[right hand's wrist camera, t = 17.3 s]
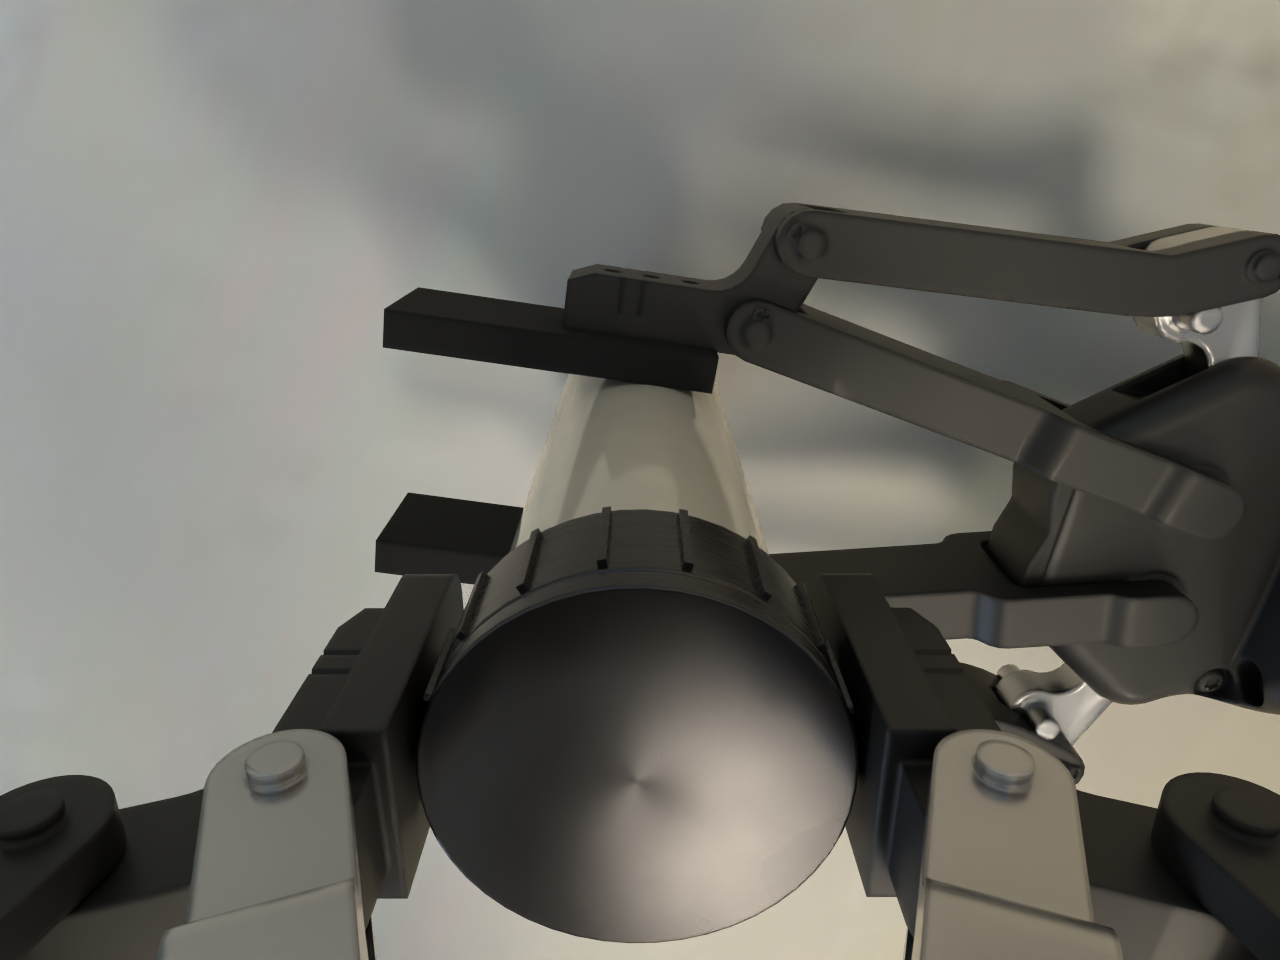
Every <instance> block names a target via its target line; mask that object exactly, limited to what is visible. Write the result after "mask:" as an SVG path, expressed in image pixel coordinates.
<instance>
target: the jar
mask: <svg viewBox="0 0 1280 960" xmlns="http://www.w3.org/2000/svg"><path fill="white" fill-rule="evenodd" d="M609 506H611V510H612V511H616V510H637V509H648V510H658V511H668V512H675V513H678V511H679V509H684V510H688V516H693V517H697V518H700V519H703V520H706V521H709V522H711V523H714V524H717V525H720V526H723V527H725V528H726V529H728V530H730V531H732V532H734V533H736V534H738V535H740V536H742V537H744V538H746V539H747V538H748V536H749V535H751V536H752V537H754V538H755V539H756V540H757V543H758V546H759V548H760V549H762V550H763V551H765V552H766V553H767V554H768V555H769V553H768V550H767V547H766V543H765V540H764V537H763V534H762V530H761V527H760V524H759V521H758V518H757V514H756V511H755V508H754V505H753V501H752V498H751V495H750V492H749V489H748V485H747V482H746V479H745V476H744V473H743V469H742V466H741V463H740V460H739V456H738V453H737V450H736V447H735V444H734V440H733V437H732V434H731V431H730V427H729V424H728V421H727V418H726V415H725V411H724V408H723V405H722V402H721V398H720V395H719V392H718V389H717V386H716V382H715V380H714V386H713V391H712V394H709V393H702V392H695V391H688V390H681V389H674V388H667V387H660V386H653V385H645V384H638V383H631V382H624V381H617V380H610V379H603V378H596V377H589V376H582V375H575V374H568V376H567V379H566V382H565V385H564V388H563V391H562V394H561V397H560V400H559V403H558V406H557V409H556V412H555V415H554V418H553V421H552V424H551V427H550V430H549V433H548V436H547V439H546V442H545V445H544V448H543V451H542V454H541V458H540V461H539V464H538V467H537V470H536V473H535V476H534V479H533V482H532V485H531V488H530V491H529V494H528V497H527V500H526V503H525V506H524V509H523V512H522V515H521V518H520V521H519V524H518V527H517V530H516V533H515V536H514V540H513V543H512V546H511V549H510V552H511V551H513V550H514V549H515V548H517V547H518V546H519V545H521V544H522V543H523V542H525V541H527V540H528V539H529V538H530V534H531V532H532V531H534V530H536V529H537V528H539V530H540V531H541V532H543V531H544V530H546V529H549V528H551V527H554V526H556V525H559V524H561V523H564V522H566V521H568V520H572V519H576V518H579V517H583V516H587V515H591V514H594V513H601V512H602V508H603V507H609ZM510 552H509V553H510Z"/></svg>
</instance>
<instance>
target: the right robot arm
mask: <svg viewBox="0 0 1280 960" xmlns="http://www.w3.org/2000/svg"><path fill="white" fill-rule="evenodd" d="M813 608H814V610H815V613H816V616H817V618H818V621H819V624H820V626H821V629H822V632H823V634H824V637H825V640H829V642H830V644H831V647H832V650H833V652H834V655H835V657H836V660H837V663H838V665H839V668H840V671H841V673H842V676H843V679H844V681H845V684H846V687H847V689H848V692H849V694H850V697H851V700H852V702H853V705H854V709H855V714H851V716H852V720H853V724H854V728H855V733H856V737H857V742H858V755H859V772H858V783H857V790H856V794H855V798H854V802H853V806H852V810H851V813H850V815H849V818H848V820H847V822H846V825H845V827H846V830H847V833H848V837H849V840H850V843H851V846H852V850H853V853H854V856H855V860H856V863H857V866H858V870H859V873H860V876H861V880H862V883H863V886H864V889H865V893H866V896H867V897H897V899H898V902H899V904H900V907H901V910H902V913H903V916H904V919H905V922H906V925H907V932H906V938H905V945H904V955H903V960H1280V795H1278V794H1277V793H1274V792H1272V791H1270V790H1268V789H1266V788H1264V787H1262V786H1259V785H1257V784H1254V783H1251V782H1249V781H1245V780H1242V779H1239V778H1236V777H1231V776H1227V775H1222V774H1215V773H1198V772H1197V773H1187V774H1183V775H1180V776H1177V777H1175V778H1173V779H1171V780H1170V781H1169V782H1168V783H1167V784H1166V785H1165V787H1164V789H1163V792H1162V795H1161V799H1160V802H1159V806H1158V809H1156V808H1152V807H1147V806H1143V805H1138V804H1134V803H1129V802H1124V801H1120V800H1115V799H1111V798H1106V797H1101V796H1097V795H1093V794H1089V793H1085V792H1082V791H1079V790H1076V786H1075V782H1074V779H1073V777H1072V775H1071V774H1070V772H1069V770H1068V769H1067V768H1066V767H1065V765H1064V764H1063V763H1062V762H1061V761H1060V760H1059V759H1058V758H1057V757H1055V756H1054V755H1053V754H1051V753H1050V752H1049V751H1047V750H1046V749H1044V748H1042V747H1041V746H1039V745H1037V744H1036V743H1033V742H1031V741H1029V740H1027V739H1025V738H1022V737H1019V736H1016V735H1013V734H1010V733H1006V732H1002V731H1001V729H1000V728H999V726H998V725H997V723H996V721H995V720H994V718H993V716H992V715H991V713H990V712H989V710H988V708H987V707H986V705H985V704H984V702H983V700H982V699H981V697H980V695H979V694H978V692H977V691H976V689H975V687H974V686H973V684H972V683H971V681H970V679H969V678H968V676H967V674H966V673H963V668H962V666H961V665H960V663H959V661H958V660H957V658H956V657H955V655H954V654H951V649H950V647H949V645H948V644H947V642H946V640H945V639H944V637H943V636H942V634H941V632H940V631H939V629H938V628H937V627H936V626H935V625H934V624H932V623H931V622H930V621H928V620H927V619H925V618H924V617H923V616H921V615H920V614H918V613H917V612H916V611H914V610H913V609H912V608H890V606H889V604H888V602H887V600H886V598H885V597H884V595H883V593H882V591H881V589H880V587H879V586H878V584H877V582H876V580H875V578H874V577H873V575H872V574H870V573H819V574H818V575H817V577H816V581H815V586H814V594H813ZM463 611H464V610H463V598H462V588H461V583H460V579H459V577H458V575H457V574H405V575H403V576H402V578H401V580H400V581H399V583H398V585H397V587H396V589H395V590H394V592H393V594H392V596H391V598H390V599H389V601H388V603H387V605H386V607H385V608H365V609H364V610H362V611H361V612H359V613H358V614H357V615H355V616H354V617H352V618H351V619H350V620H348V621H347V622H345V623H344V624H343V625H341V626H340V627H338V629H337V630H336V632H335V633H334V635H333V637H332V638H331V640H330V641H329V643H328V645H327V646H326V648H325V649H324V655H321V656H320V657H319V659H318V660H317V662H316V664H315V665H314V667H313V668H312V674H309V675H308V676H307V678H306V680H305V681H304V683H303V684H302V686H301V688H300V689H299V691H298V692H297V694H296V695H295V697H294V699H293V700H292V702H291V703H290V705H289V707H288V708H287V710H286V711H285V713H284V715H283V716H282V718H281V719H280V721H279V723H278V724H277V726H276V727H275V729H274V731H273V732H272V733H270V734H267V735H264V736H261V737H258V738H255V739H253V740H251V741H249V742H247V743H244V744H243V745H241V746H239V747H238V748H236V749H234V750H233V751H231V752H230V753H229V754H227V755H226V756H225V757H223V758H222V759H221V760H220V761H219V762H218V763H217V764H216V765H215V767H214V768H213V769H212V770H211V772H210V774H209V775H208V777H207V779H206V782H205V786H204V789H202V790H199V791H196V792H193V793H190V794H186V795H182V796H178V797H174V798H170V799H165V800H160V801H156V802H151V803H147V804H142V805H137V806H133V807H128V808H124V809H119V808H118V805H117V801H116V798H115V794H114V792H113V790H112V787H111V786H110V785H109V784H108V783H107V782H105V781H103V780H101V779H99V778H96V777H92V776H85V775H66V776H58V777H52V778H48V779H43V780H39V781H36V782H33V783H30V784H27V785H24V786H22V787H19V788H16V789H14V790H12V791H10V792H8V793H5V794H3V795H1V796H0V960H377V955H376V945H375V938H374V932H373V926H372V919H371V914H372V912H373V909H374V906H375V903H376V900H377V898H408V895H409V892H410V889H411V886H412V883H413V879H414V876H415V873H416V870H417V866H418V863H419V860H420V857H421V853H422V850H423V847H424V844H425V841H426V837H427V834H428V831H429V828H430V825H429V822H428V820H427V818H426V815H425V812H424V809H423V805H422V802H421V799H420V796H419V790H418V783H417V776H416V746H417V740H418V735H419V729H420V724H421V721H422V718H423V716H424V713H425V710H426V707H427V704H428V702H427V701H424V700H423V696H424V692H425V690H426V687H427V685H428V682H429V680H430V677H431V675H432V672H433V670H434V667H435V665H436V662H437V660H438V657H439V655H440V652H441V650H442V647H443V645H444V642H445V640H446V637H447V635H448V632H449V630H450V628H454V629H457V626H458V624H459V621H460V619H461V616H462V614H463Z"/></svg>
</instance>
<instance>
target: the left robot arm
mask: <svg viewBox="0 0 1280 960" xmlns="http://www.w3.org/2000/svg"><path fill="white" fill-rule="evenodd" d="M818 278H823V279H831V280H839V281H847V282H856V283H864V284H872V285H880V286H888V287H896V288H905V289H913V290H921V291H929V292H937V293H945V294H953V295H962V296H970V297H978V298H986V299H994V300H1002V301H1010V302H1019V303H1027V304H1035V305H1043V306H1051V307H1059V308H1067V309H1076V310H1084V311H1092V312H1100V313H1108V314H1116V315H1125V316H1133V320H1134V321H1135V323H1136V325H1137V326H1138V327H1139V328H1140V329H1142V330H1143V331H1146V332H1149V333H1151V334H1154V335H1157V336H1160V337H1162V338H1165V339H1168V340H1171V341H1173V342H1180V344H1181V346H1182V348H1183V353H1184V354H1181V355H1179V356H1177V357H1175V358H1173V359H1171V360H1169V361H1166V362H1164V363H1162V364H1160V365H1158V366H1156V367H1153V368H1151V369H1149V370H1147V371H1145V372H1143V373H1140V374H1138V375H1136V376H1134V377H1132V378H1130V379H1127V380H1125V381H1123V382H1121V383H1119V384H1116V385H1114V386H1112V387H1110V388H1108V389H1106V390H1103V391H1101V392H1099V393H1097V394H1095V395H1093V396H1090V397H1088V398H1086V399H1084V400H1082V401H1079V402H1077V403H1075V404H1073V405H1068V404H1066V403H1063V402H1060V401H1058V400H1055V399H1053V398H1050V397H1047V396H1045V395H1042V394H1040V393H1037V392H1035V391H1032V390H1029V389H1027V388H1024V387H1022V386H1019V385H1017V384H1014V383H1011V382H1008V381H1001V380H998V379H995V378H993V377H990V376H988V375H985V374H982V373H980V372H977V371H975V370H972V369H970V368H967V367H964V366H962V365H959V364H957V363H954V362H951V361H949V360H946V359H944V358H941V357H939V356H936V355H933V354H931V353H928V352H926V351H923V350H921V349H918V348H915V347H913V346H910V345H908V344H905V343H902V342H900V341H897V340H895V339H892V338H890V337H887V336H884V335H882V334H879V333H877V332H874V331H871V330H869V329H866V328H864V327H861V326H859V325H856V324H853V323H851V322H848V321H846V320H843V319H840V318H838V317H835V316H833V315H830V314H828V313H825V312H822V311H820V310H817V309H815V308H812V307H809V306H807V305H804V304H803V302H804V300H805V299H806V297H807V295H808V294H809V292H810V290H811V289H812V287H813V285H814V284H815V282H816V280H817V279H818ZM1279 289H1280V235H1278V234H1271V233H1264V232H1256V231H1249V230H1242V229H1234V228H1227V227H1220V226H1212V225H1205V224H1186V225H1182V226H1177V227H1173V228H1169V229H1164V230H1160V231H1156V232H1151V233H1147V234H1143V235H1138V236H1134V237H1130V238H1125V239H1121V240H1117V241H1113V242H1101V241H1093V240H1085V239H1077V238H1069V237H1061V236H1053V235H1045V234H1037V233H1029V232H1022V231H1014V230H1006V229H998V228H990V227H982V226H974V225H966V224H958V223H950V222H942V221H935V220H927V219H919V218H911V217H903V216H895V215H887V214H879V213H871V212H863V211H855V210H848V209H840V208H832V207H824V206H816V205H808V204H800V203H785V204H781V205H779V206H777V207H776V208H774V209H772V210H771V212H770V213H769V214H768V215H767V216H766V217H765V220H764V222H763V225H762V228H761V234H760V235H759V237H758V239H757V241H756V242H755V244H754V246H753V248H752V249H751V251H750V253H749V255H748V257H747V258H746V260H745V261H744V263H743V264H742V266H741V267H740V268H739V269H738V270H737V271H736V272H734V273H733V274H732V275H730V276H728V277H726V278H723V279H719V280H701V279H695V278H688V277H681V276H674V275H668V274H661V273H654V272H648V271H641V270H634V269H625V268H621V267H614V266H607V265H600V264H596V265H592V266H588V267H584V268H580V269H576V270H573V271H572V273H571V275H570V277H569V278H568V282H567V291H566V300H565V309H563V308H556V307H550V306H543V305H536V304H529V303H522V302H515V301H508V300H501V299H494V298H488V297H481V296H474V295H467V294H460V293H453V292H446V291H439V290H433V289H426V288H419V287H418V288H417V289H415V290H414V291H412V292H410V293H409V294H407V295H406V296H404V297H402V298H401V299H399V300H398V301H396V302H395V303H393V304H391V305H390V306H388V307H387V308H385V309H384V330H383V347H384V348H391V349H398V350H405V351H412V352H419V353H426V354H433V355H440V356H447V357H455V358H462V359H469V360H476V361H483V362H490V363H497V364H504V365H511V366H518V367H525V368H532V369H539V370H546V371H554V372H561V373H568V374H575V375H582V376H589V377H596V378H603V379H610V380H617V381H624V382H631V383H638V384H645V385H653V386H660V387H667V388H674V389H681V390H688V391H695V392H702V393H709V394H712V391H713V386H714V380H715V375H716V369H717V364H718V358H719V357H718V354H717V352H719V353H726V354H733V355H736V356H738V357H739V358H741V359H743V360H744V361H746V362H749V363H752V364H754V365H757V366H760V367H762V368H765V369H768V370H770V371H773V372H776V373H778V374H781V375H784V376H786V377H789V378H792V379H794V380H797V381H800V382H802V383H805V384H808V385H810V386H813V387H816V388H818V389H821V390H824V391H826V392H829V393H832V394H834V395H837V396H840V397H842V398H845V399H848V400H850V401H853V402H856V403H858V404H861V405H864V406H866V407H869V408H872V409H874V410H877V411H880V412H882V413H885V414H888V415H891V416H893V417H896V418H899V419H901V420H904V421H907V422H909V423H912V424H915V425H917V426H920V427H923V428H925V429H928V430H931V431H933V432H936V433H939V434H941V435H944V436H947V437H949V438H952V439H955V440H957V441H960V442H963V443H965V444H968V445H971V446H973V447H976V448H979V449H981V450H984V451H987V452H989V453H992V454H995V455H997V456H1000V457H1003V458H1005V459H1008V460H1011V461H1013V462H1014V465H1013V483H1012V497H1011V499H1010V501H1009V503H1008V504H1007V506H1006V507H1005V509H1004V510H1003V512H1002V514H1001V515H1000V517H999V518H998V520H997V521H996V523H995V525H994V526H993V529H992V531H985V532H970V533H957V534H951V535H948V536H946V537H945V539H944V540H943V541H942V542H940V543H936V544H923V545H908V546H892V547H876V548H860V549H845V550H829V551H813V552H797V553H782V554H769V556H770V557H772V558H773V559H774V560H775V561H776V562H777V563H778V564H779V565H780V566H781V567H783V569H784V570H785V571H786V572H787V573H788V575H789V576H790V577H791V578H792V579H793V581H794V582H795V583H796V584H798V583H800V582H803V584H804V585H805V587H806V589H807V591H808V594H809V597H810V599H811V602H812V605H813V594H814V586H815V581H816V577H817V575H818V574H819V573H870V574H872V575H873V577H874V578H875V580H876V582H877V584H878V586H879V587H880V589H881V591H882V593H883V595H884V597H885V598H886V600H887V602H888V604H889V606H890V608H912V609H913V610H914V611H916V612H917V613H918V614H920V615H921V616H923V617H924V618H925V619H927V620H928V621H930V622H931V623H932V624H934V625H935V626H936V627H937V628H938V629H939V631H940V632H941V634H942V636H943V637H944V639H945V640H946V639H962V638H971V639H976V640H979V641H981V642H983V643H985V644H987V645H989V646H993V647H997V648H1024V647H1040V646H1049V647H1050V648H1051V649H1052V650H1053V651H1054V652H1055V653H1056V654H1057V655H1058V656H1059V657H1060V658H1061V659H1062V660H1063V661H1064V662H1065V663H1064V664H1063V665H1062V666H1061V667H1059V668H1057V669H1055V670H1053V671H1050V672H1046V673H1037V672H1033V671H1028V670H1019V668H1018V667H1017V666H1015V665H1010V664H1008V665H1005V666H1003V667H1001V668H1000V669H999V671H998V673H997V675H995V674H992V673H990V672H988V671H986V670H984V669H981V668H978V667H975V666H972V665H969V664H965V663H960V662H959V663H960V665H961V666H962V668H963V673H966V674H967V676H968V678H969V679H970V681H971V683H972V684H973V686H974V687H975V689H976V691H977V692H978V694H979V695H980V697H981V699H982V700H983V702H984V704H985V705H986V707H987V708H988V710H989V712H990V713H991V715H992V716H993V718H994V720H995V721H996V723H997V725H998V726H999V728H1000V729H1001V731H1002V732H1006V733H1010V734H1013V735H1016V736H1019V737H1022V738H1025V739H1027V740H1029V741H1031V742H1033V743H1036V744H1037V745H1039V746H1041V747H1042V748H1044V749H1046V750H1047V751H1049V752H1050V753H1051V754H1053V755H1054V756H1055V757H1057V758H1058V759H1059V760H1060V761H1061V762H1062V763H1063V764H1064V765H1065V767H1066V768H1067V769H1068V770H1069V772H1070V774H1071V775H1072V777H1073V779H1074V782H1075V785H1076V784H1077V783H1078V782H1079V781H1080V780H1081V778H1082V776H1083V775H1084V769H1085V766H1084V764H1083V761H1082V759H1081V758H1080V756H1079V755H1078V753H1077V752H1076V751H1075V749H1074V748H1073V747H1072V745H1073V744H1074V743H1075V742H1076V741H1077V740H1078V739H1079V737H1080V736H1081V735H1082V734H1083V733H1084V732H1085V731H1086V730H1087V729H1088V728H1089V727H1090V726H1091V724H1092V723H1093V722H1094V721H1095V720H1096V719H1097V718H1098V717H1099V716H1100V715H1101V714H1102V713H1103V711H1104V710H1105V709H1106V708H1107V707H1108V706H1109V705H1110V704H1111V703H1112V702H1116V703H1120V704H1130V705H1131V704H1142V703H1147V702H1150V701H1154V700H1157V699H1160V698H1164V697H1168V696H1173V695H1179V694H1195V695H1200V696H1204V697H1208V698H1211V699H1215V700H1219V701H1222V702H1225V703H1229V704H1232V705H1236V706H1239V707H1243V708H1247V709H1251V710H1255V711H1260V712H1265V713H1271V714H1279V715H1280V366H1278V365H1276V364H1275V363H1273V362H1271V361H1269V360H1266V359H1263V358H1259V324H1260V298H1264V297H1266V296H1269V295H1271V294H1274V293H1276V292H1277V291H1278V290H1279ZM523 509H524V508H521V507H513V506H506V505H498V504H491V503H483V502H476V501H468V500H460V499H453V498H445V497H438V496H430V495H423V494H415V493H408V494H407V495H406V497H405V498H404V499H403V501H402V502H401V504H400V505H399V507H398V508H397V510H396V511H395V513H394V514H393V516H392V517H391V519H390V520H389V522H388V523H387V525H386V526H385V528H384V529H383V531H382V532H381V534H380V535H379V537H378V538H377V540H376V554H375V572H380V573H388V574H396V575H405V574H457V575H458V577H459V579H460V583H467V584H475V582H476V580H477V577H478V575H479V574H480V573H481V572H482V571H483V572H485V573H486V574H488V573H489V572H490V571H491V570H492V569H493V568H494V567H495V566H496V565H497V564H498V563H499V562H500V561H501V560H502V559H503V558H504V557H505V556H506V555H507V554H509V552H510V549H511V546H512V543H513V540H514V536H515V533H516V530H517V527H518V524H519V521H520V518H521V515H522V512H523Z"/></svg>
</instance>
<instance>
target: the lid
mask: <svg viewBox="0 0 1280 960" xmlns="http://www.w3.org/2000/svg"><path fill="white" fill-rule="evenodd" d="M423 700H424V701H427V702H428V704H427V707H426V710H425V713H424V716H423V718H422V721H421V724H420V729H419V735H418V740H417V746H416V776H417V783H418V790H419V796H420V799H421V802H422V805H423V809H424V812H425V815H426V818H427V820H428V822H429V825H430V827H431V829H432V831H433V833H434V835H435V837H436V839H437V841H438V842H439V844H440V845H441V847H442V848H443V850H444V851H445V852H446V854H447V855H448V857H449V858H450V860H451V861H452V862H453V863H454V864H455V865H456V866H457V868H458V869H459V870H460V871H461V872H462V873H463V874H464V875H465V877H466V878H468V879H469V880H470V881H471V882H472V883H473V884H474V885H476V886H477V887H478V888H479V889H480V890H481V891H482V892H484V893H485V894H486V895H488V896H489V897H491V898H492V899H494V900H495V901H496V902H498V903H499V904H501V905H502V906H504V907H505V908H507V909H509V910H511V911H513V912H515V913H517V914H518V915H520V916H522V917H524V918H526V919H528V920H530V921H533V922H535V923H538V924H540V925H543V926H545V927H548V928H550V929H553V930H557V931H560V932H564V933H567V934H571V935H574V936H579V937H584V938H590V939H595V940H601V941H611V942H623V943H656V942H665V941H674V940H682V939H687V938H692V937H697V936H701V935H706V934H709V933H713V932H716V931H719V930H722V929H725V928H728V927H731V926H734V925H736V924H738V923H741V922H743V921H745V920H747V919H750V918H752V917H754V916H756V915H758V914H760V913H761V912H763V911H765V910H767V909H768V908H770V907H772V906H774V905H775V904H777V903H778V902H780V901H781V900H782V899H784V898H785V897H786V896H788V895H789V894H791V893H792V892H793V891H795V890H796V889H797V888H798V887H799V886H800V885H801V884H802V883H804V882H805V881H806V880H807V879H808V878H809V877H810V876H811V875H812V874H813V873H814V872H815V871H816V870H817V868H818V867H819V866H820V865H821V864H822V862H823V861H824V860H825V859H826V857H827V856H828V855H829V854H830V852H831V850H832V849H833V847H834V845H835V844H836V842H837V841H838V839H839V837H840V836H841V834H842V832H843V830H844V827H845V825H846V822H847V820H848V818H849V815H850V813H851V810H852V806H853V802H854V798H855V794H856V790H857V783H858V772H859V755H858V742H857V737H856V733H855V728H854V724H853V720H852V716H851V714H855V709H854V705H853V702H852V700H851V697H850V694H849V692H848V689H847V687H846V684H845V681H844V679H843V676H842V673H841V671H840V668H839V665H838V663H837V660H836V657H835V655H834V652H833V650H832V647H831V644H830V642H829V640H825V637H824V634H823V632H822V629H821V626H820V624H819V621H818V618H817V616H816V613H815V610H814V608H813V605H812V602H811V599H810V597H809V594H808V591H807V589H806V587H805V585H804V584H803V582H800V583H798V584H796V583H795V582H794V581H793V579H792V578H791V577H790V576H789V575H788V573H787V572H786V571H785V570H784V569H783V567H781V566H780V565H779V564H778V563H777V562H776V561H775V560H774V559H773V558H772V557H770V556H769V555H768V554H767V553H766V552H765V551H763V550H762V549H760V548H759V546H758V543H757V540H756V539H755V538H754V537H752V536H751V535H749V536H748V538H747V539H746V538H744V537H742V536H740V535H738V534H736V533H734V532H732V531H730V530H728V529H726V528H725V527H723V526H720V525H717V524H714V523H711V522H709V521H706V520H703V519H700V518H697V517H693V516H688V510H684V509H679V511H678V513H675V512H668V511H658V510H648V509H637V510H616V511H612V510H611V506H609V507H603V508H602V512H601V513H594V514H591V515H587V516H583V517H579V518H576V519H572V520H568V521H566V522H564V523H561V524H559V525H556V526H554V527H551V528H549V529H546V530H544V531H543V532H541V531H540V530H539V528H537V529H536V530H534V531H532V532H531V534H530V538H529V539H528V540H527V541H525V542H523V543H522V544H521V545H519V546H518V547H517V548H515V549H514V550H513V551H511V552H510V553H509V554H507V555H506V556H505V557H504V558H503V559H502V560H501V561H500V562H499V563H498V564H497V565H496V566H495V567H494V568H493V569H492V570H491V571H490V572H489V573H488V574H486V573H485V572H483V571H482V572H481V573H480V574H479V575H478V577H477V580H476V582H475V585H474V587H473V590H472V593H471V595H470V598H469V600H468V603H467V605H466V607H465V609H464V611H463V614H462V616H461V619H460V621H459V624H458V626H457V629H454V628H450V630H449V632H448V635H447V637H446V640H445V642H444V645H443V647H442V650H441V652H440V655H439V657H438V660H437V662H436V665H435V667H434V670H433V672H432V675H431V677H430V680H429V682H428V685H427V687H426V690H425V692H424V696H423Z"/></svg>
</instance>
